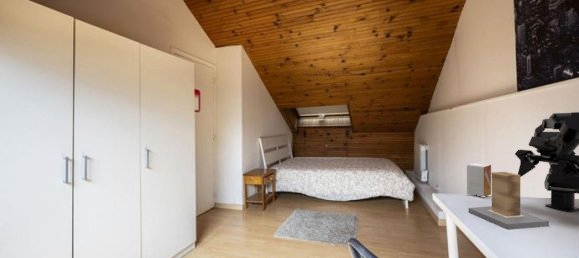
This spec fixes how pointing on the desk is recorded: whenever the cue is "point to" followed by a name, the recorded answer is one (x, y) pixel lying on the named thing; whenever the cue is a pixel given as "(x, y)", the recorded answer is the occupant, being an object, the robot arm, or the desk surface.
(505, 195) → the oak block
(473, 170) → the small box
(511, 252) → the desk surface
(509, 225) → the baseplate
